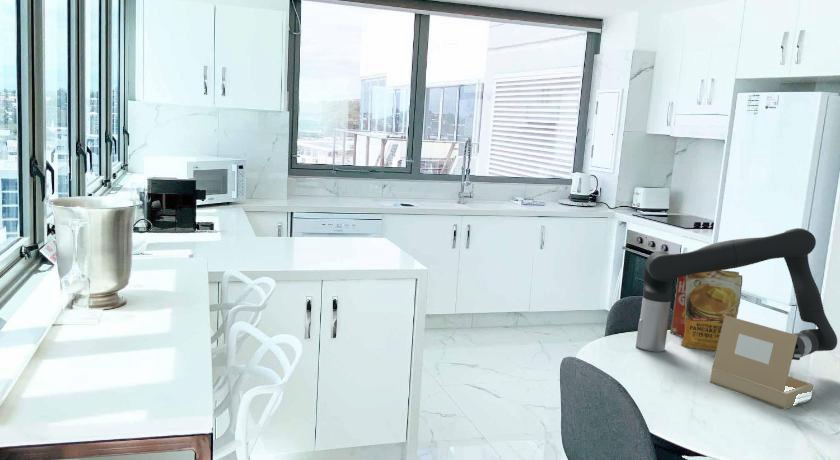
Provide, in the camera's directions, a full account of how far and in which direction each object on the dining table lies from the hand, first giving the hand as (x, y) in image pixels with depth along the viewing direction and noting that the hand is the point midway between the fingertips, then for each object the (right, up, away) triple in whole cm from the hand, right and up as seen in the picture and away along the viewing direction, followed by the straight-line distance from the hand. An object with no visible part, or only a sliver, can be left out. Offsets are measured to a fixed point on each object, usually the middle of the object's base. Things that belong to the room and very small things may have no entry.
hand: (764, 353), depth 202 cm
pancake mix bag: (0, -6, +42) cm, 42 cm away
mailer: (0, -11, +2) cm, 12 cm away
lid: (-5, +1, -4) cm, 6 cm away
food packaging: (+1, -4, +57) cm, 57 cm away
